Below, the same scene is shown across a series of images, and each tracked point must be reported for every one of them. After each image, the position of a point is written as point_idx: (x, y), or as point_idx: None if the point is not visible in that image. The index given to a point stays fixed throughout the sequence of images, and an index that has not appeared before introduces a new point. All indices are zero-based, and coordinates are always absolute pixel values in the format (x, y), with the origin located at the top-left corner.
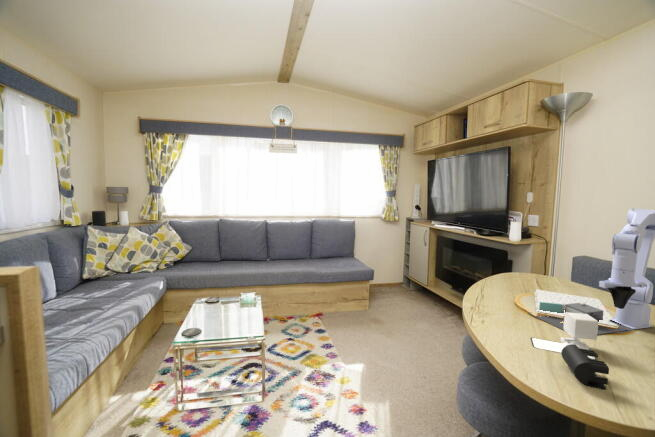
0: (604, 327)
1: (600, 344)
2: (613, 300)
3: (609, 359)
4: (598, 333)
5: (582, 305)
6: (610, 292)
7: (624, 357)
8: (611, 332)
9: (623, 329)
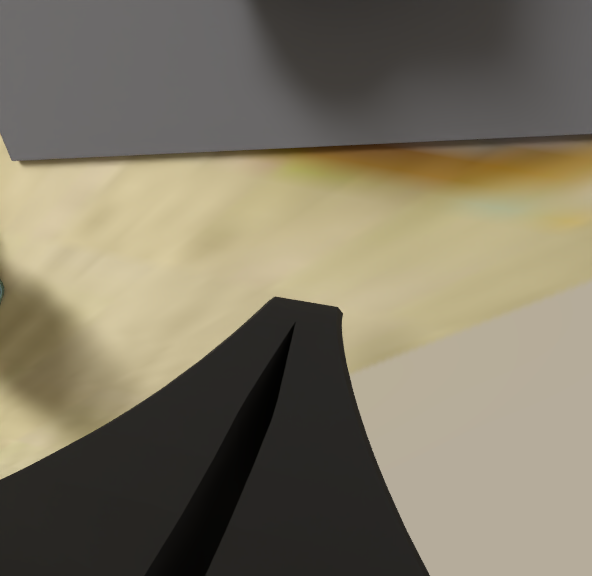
0: (406, 31)
1: (103, 262)
2: (214, 355)
3: (39, 369)
4: (210, 142)
5: None
6: (27, 474)
7: (125, 378)
8: (357, 143)
9: (564, 113)
